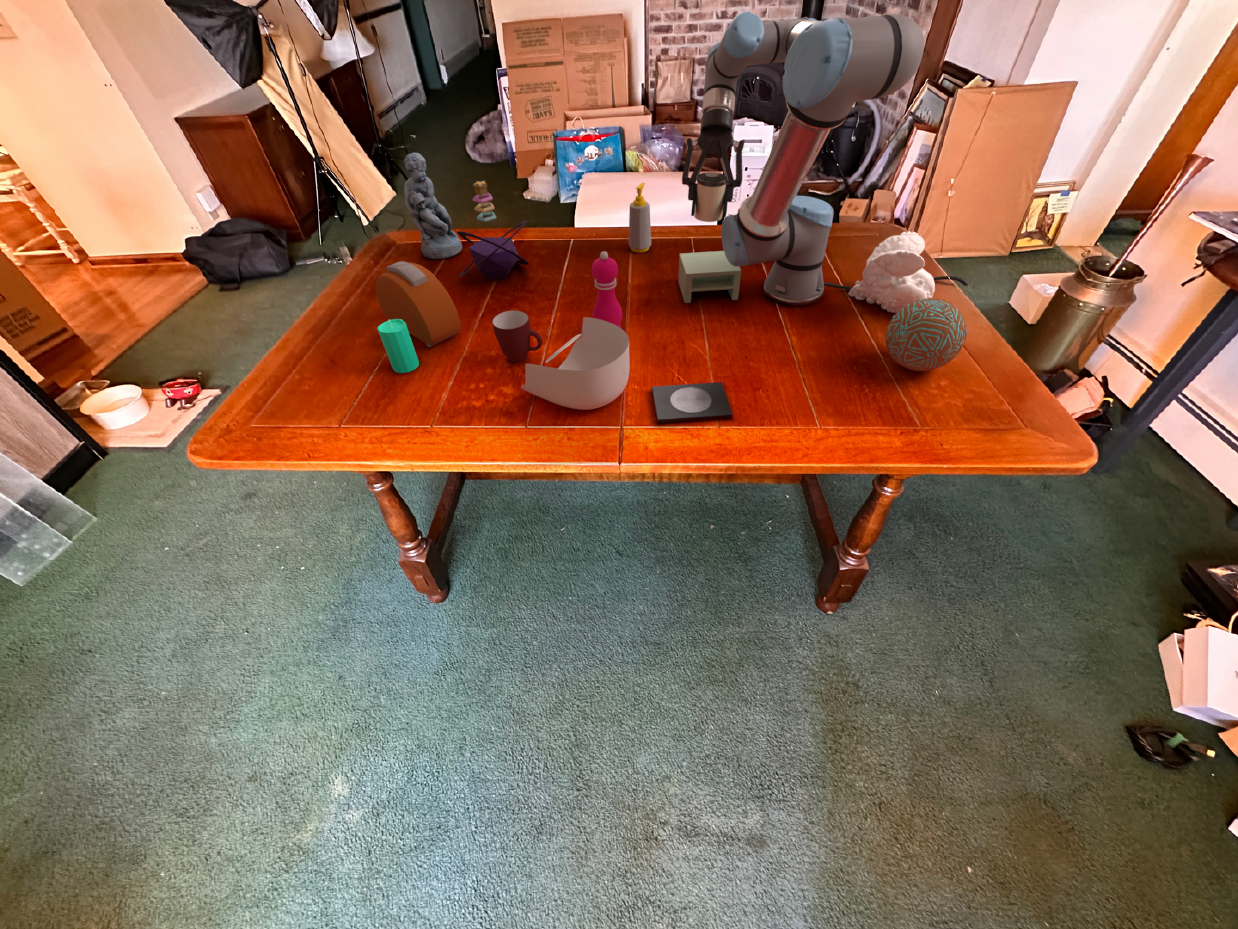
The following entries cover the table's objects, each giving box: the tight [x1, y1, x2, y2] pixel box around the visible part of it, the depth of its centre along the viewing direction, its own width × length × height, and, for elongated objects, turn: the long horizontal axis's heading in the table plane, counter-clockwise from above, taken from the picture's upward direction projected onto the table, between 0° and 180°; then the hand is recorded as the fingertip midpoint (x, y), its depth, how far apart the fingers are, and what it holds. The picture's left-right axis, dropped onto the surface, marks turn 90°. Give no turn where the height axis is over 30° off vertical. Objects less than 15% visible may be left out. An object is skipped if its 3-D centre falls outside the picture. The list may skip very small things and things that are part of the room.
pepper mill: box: [591, 250, 623, 329], centre depth 130 cm, size 7×7×20 cm
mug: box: [491, 310, 543, 363], centre depth 126 cm, size 10×8×10 cm
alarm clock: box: [375, 261, 463, 348], centre depth 134 cm, size 23×9×17 cm, turn 47°
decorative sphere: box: [885, 297, 968, 372], centre depth 117 cm, size 15×15×15 cm
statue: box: [403, 152, 463, 260], centre depth 164 cm, size 12×23×27 cm, turn 71°
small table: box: [677, 250, 742, 304], centre depth 147 cm, size 14×12×8 cm
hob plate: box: [651, 381, 733, 425], centre depth 115 cm, size 15×11×1 cm
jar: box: [693, 171, 727, 223], centre depth 133 cm, size 7×7×9 cm
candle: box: [376, 319, 420, 374], centre depth 125 cm, size 6×6×12 cm
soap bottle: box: [628, 182, 652, 253], centre depth 163 cm, size 7×7×18 cm
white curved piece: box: [520, 316, 631, 411], centre depth 116 cm, size 20×19×12 cm
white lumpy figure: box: [847, 230, 936, 314], centre depth 138 cm, size 19×20×20 cm
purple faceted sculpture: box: [456, 180, 530, 280], centre depth 152 cm, size 22×21×25 cm
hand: (708, 213), depth 132 cm, fingers closed on jar, 7 cm apart
